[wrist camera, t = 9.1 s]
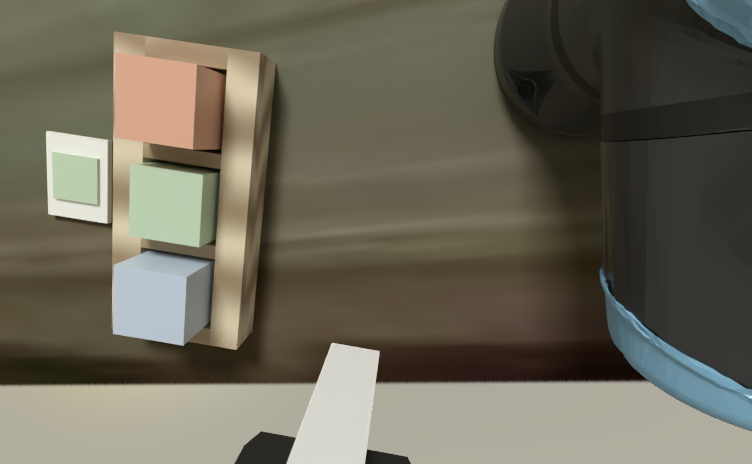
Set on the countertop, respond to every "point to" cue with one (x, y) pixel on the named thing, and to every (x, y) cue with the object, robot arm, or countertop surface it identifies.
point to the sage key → (173, 202)
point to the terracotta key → (168, 102)
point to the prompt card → (79, 177)
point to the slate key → (162, 296)
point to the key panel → (237, 180)
